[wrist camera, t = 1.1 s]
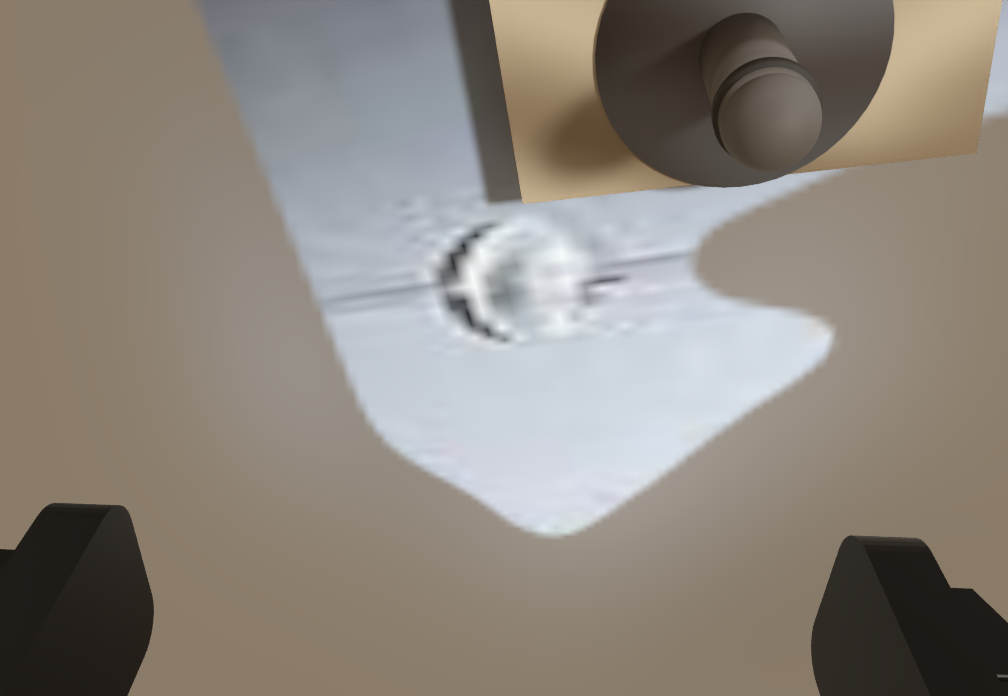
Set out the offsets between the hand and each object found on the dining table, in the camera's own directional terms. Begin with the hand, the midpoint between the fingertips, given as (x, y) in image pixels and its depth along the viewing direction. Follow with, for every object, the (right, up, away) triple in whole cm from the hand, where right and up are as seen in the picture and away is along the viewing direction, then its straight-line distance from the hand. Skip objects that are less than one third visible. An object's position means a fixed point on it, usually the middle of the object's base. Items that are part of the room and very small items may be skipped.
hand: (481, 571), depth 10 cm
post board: (+7, +16, +14) cm, 22 cm away
